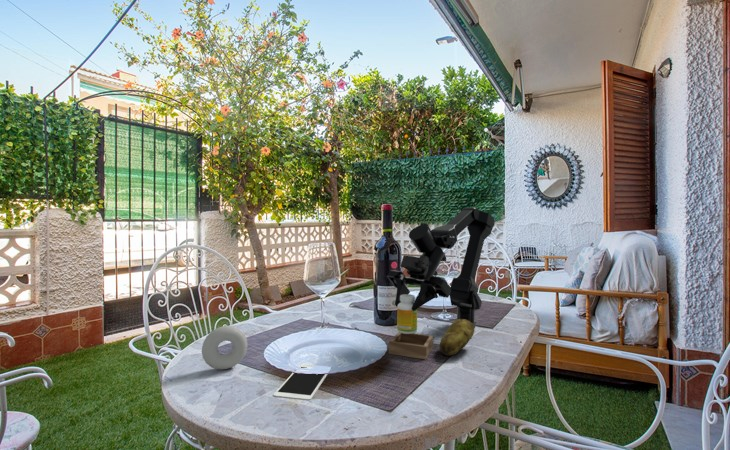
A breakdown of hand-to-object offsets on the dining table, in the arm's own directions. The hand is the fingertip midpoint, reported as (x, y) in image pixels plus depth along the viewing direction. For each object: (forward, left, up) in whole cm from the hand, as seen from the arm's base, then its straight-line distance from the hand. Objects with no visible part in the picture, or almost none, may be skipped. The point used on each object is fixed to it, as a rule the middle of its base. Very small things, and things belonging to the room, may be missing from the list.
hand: (404, 307), depth 99 cm
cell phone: (+27, -15, -12) cm, 33 cm away
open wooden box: (0, +2, -11) cm, 11 cm away
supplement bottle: (-1, +1, -7) cm, 7 cm away
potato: (-4, +13, -11) cm, 18 cm away
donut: (+29, -35, -11) cm, 47 cm away
